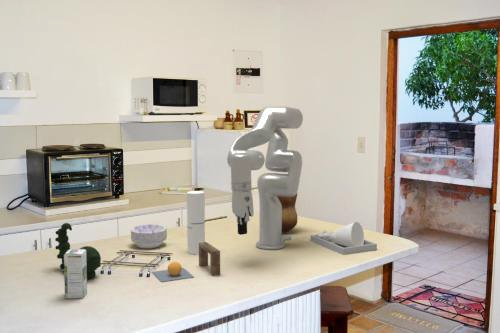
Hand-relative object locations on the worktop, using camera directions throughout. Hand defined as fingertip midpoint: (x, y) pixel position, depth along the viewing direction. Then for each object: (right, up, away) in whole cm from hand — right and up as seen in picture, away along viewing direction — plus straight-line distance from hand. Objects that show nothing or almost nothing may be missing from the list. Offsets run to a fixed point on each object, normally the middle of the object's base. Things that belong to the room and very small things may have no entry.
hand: (242, 233), depth 203 cm
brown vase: (+19, -6, +55) cm, 58 cm away
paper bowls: (-41, -9, +29) cm, 51 cm away
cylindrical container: (-19, -10, +19) cm, 29 cm away
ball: (-24, -11, -12) cm, 29 cm away
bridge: (-12, -13, -5) cm, 18 cm away
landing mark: (-25, -13, -11) cm, 30 cm away
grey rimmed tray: (+43, -9, +30) cm, 53 cm away
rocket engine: (+43, -9, +30) cm, 53 cm away
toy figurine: (-58, -14, -11) cm, 61 cm away
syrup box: (-52, -16, -32) cm, 63 cm away
